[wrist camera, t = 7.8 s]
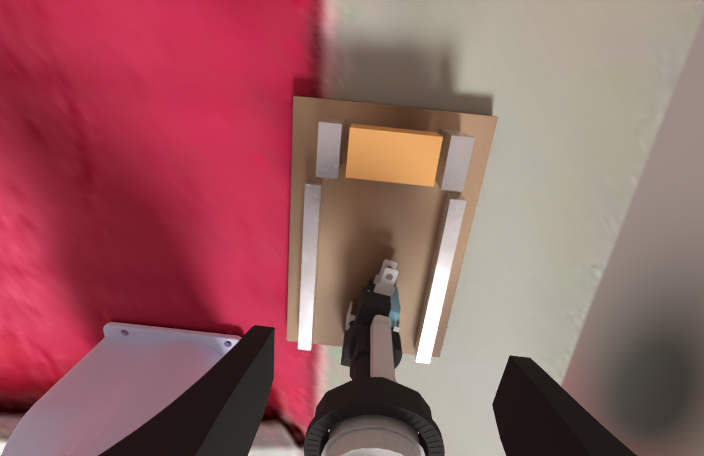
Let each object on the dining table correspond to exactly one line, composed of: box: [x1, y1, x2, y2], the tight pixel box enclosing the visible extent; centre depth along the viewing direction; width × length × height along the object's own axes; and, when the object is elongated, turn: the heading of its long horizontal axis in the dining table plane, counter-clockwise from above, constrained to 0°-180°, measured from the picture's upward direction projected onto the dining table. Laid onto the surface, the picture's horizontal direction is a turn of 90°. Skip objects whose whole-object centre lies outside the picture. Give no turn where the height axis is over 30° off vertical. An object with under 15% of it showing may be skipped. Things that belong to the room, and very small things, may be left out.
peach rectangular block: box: [345, 124, 443, 187], centre depth 16 cm, size 4×2×2 cm, turn 85°
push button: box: [304, 259, 445, 456], centre depth 17 cm, size 7×5×10 cm
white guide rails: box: [298, 117, 475, 363], centre depth 19 cm, size 8×14×3 cm, turn 175°
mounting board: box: [287, 96, 498, 357], centre depth 20 cm, size 10×15×1 cm, turn 175°
